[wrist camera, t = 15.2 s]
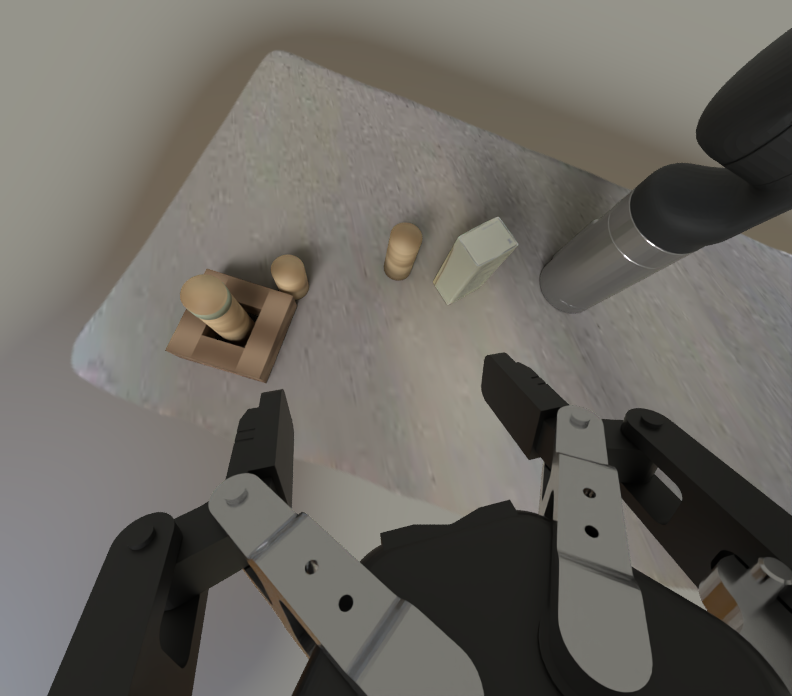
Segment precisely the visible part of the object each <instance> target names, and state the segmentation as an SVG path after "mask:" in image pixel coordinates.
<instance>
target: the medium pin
mask: <svg viewBox="0 0 792 696" xmlns="http://www.w3.org/2000/svg"><path fill="white" fill-rule="evenodd" d="M421 243H422V234H421V231H420V230H419V229H418V228H417V227H416V226H415V225H413V224H411V223H399V224H397V225H396V226H394V227H393V229H392V231H391V234H390V239H389V244H388V248H387V253H386V258H385V263H384V271H385V273H386V275H387V276H388V277H389V278H391V279H393V280H398V281H399V280H404V279H406V278H407V277H408V276H409V274H410V272H411V269H412V267H413V264H414V261H415V259H416V256H417V253H418V251H419V248H420V245H421Z"/></svg>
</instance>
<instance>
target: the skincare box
mask: <svg viewBox="0 0 792 696" xmlns="http://www.w3.org/2000/svg"><path fill="white" fill-rule="evenodd" d="M518 245H519V244H518V243H517V241H516V240H515V238H514V237H513V235H512V234H511V233H510V231H509V230H508V229H507V227H506V226H505V224H504V223H503V222H502V221H501V219H500V218H499V217H496V218H493V219H491V220H489V221H487V222H485V223H483V224H481V225H479V226H477V227H475V228H473V229H472V230H470V231H468V232H466V233H464V234H462V235H461V236H459V237H458V238H457V240H456V242H455V244H454V245H453V247H452V249H451V251H450V253H449V254H448V256H447V258H446V260H445V261H444V263H443V265H442V267H441V268H440V270H439V272H438V274H437V276H436V277H435V279H434V281H433V283H434V285H435V287H436V288H437V290H438V291H439V293H440V294H441V296H442V297H443V299H444V300H445V302H446V303H447V305H450V304H451V303H453V302H455V301H457V300H459V299H461V298H463V297H464V296H466V295H468V294H470V293H471V292H473V291H475V290H477V289H478V288H480V287H481V286H482V285H483V283H484V282H485V281H486V280H487V279H488V278H489V277H490V276H491V275H492V274H493V272H494V271H495V270H496V269H497V268H498V267H499V266H500V265H501V264H502V263H503V261H504V260H505V259H506V258H507V257H508V256H509V255H510V254H511V253H512V252H513V250H514V249H515V248H516V247H517V246H518Z"/></svg>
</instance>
